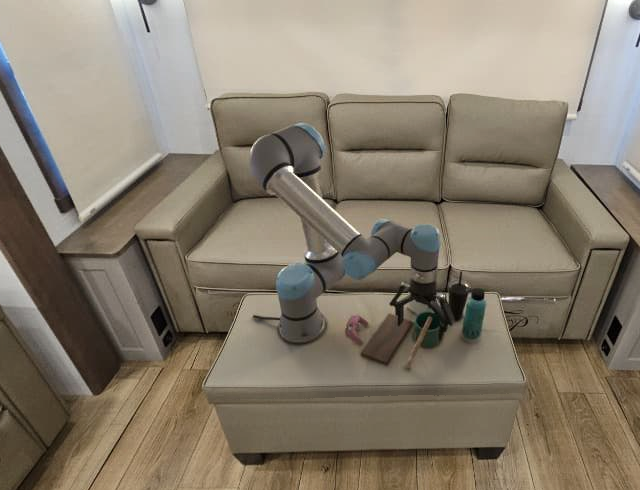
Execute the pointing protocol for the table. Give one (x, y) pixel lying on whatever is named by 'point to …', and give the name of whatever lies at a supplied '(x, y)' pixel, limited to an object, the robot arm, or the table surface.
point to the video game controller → (354, 327)
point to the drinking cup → (458, 296)
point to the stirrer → (418, 342)
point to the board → (386, 339)
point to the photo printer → (418, 307)
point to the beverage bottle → (474, 314)
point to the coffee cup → (432, 331)
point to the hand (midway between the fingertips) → (420, 330)
